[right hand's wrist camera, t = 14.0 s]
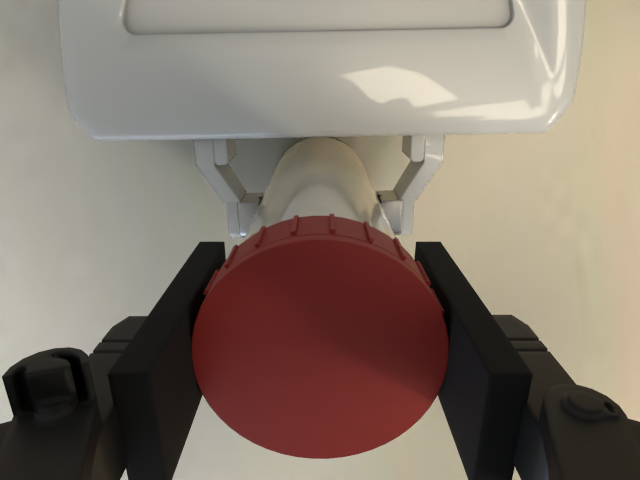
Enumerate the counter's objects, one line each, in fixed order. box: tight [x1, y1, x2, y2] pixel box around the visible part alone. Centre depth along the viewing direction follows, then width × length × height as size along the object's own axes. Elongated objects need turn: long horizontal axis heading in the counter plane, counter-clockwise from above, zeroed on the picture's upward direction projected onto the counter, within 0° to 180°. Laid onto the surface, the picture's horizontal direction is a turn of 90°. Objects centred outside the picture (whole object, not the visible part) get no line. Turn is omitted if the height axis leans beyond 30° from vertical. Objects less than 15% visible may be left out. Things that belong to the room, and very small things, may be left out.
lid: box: [191, 213, 449, 459], centre depth 11 cm, size 6×6×2 cm
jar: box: [242, 137, 396, 243], centre depth 19 cm, size 6×6×17 cm
